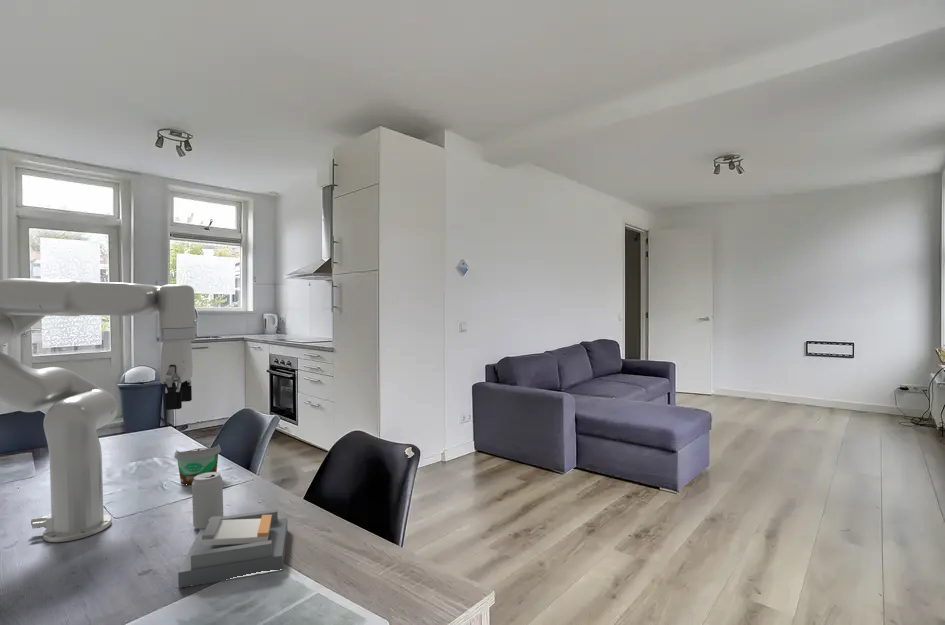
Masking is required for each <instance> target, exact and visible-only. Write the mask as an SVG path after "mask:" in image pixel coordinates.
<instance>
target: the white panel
mask: <svg viewBox="0 0 945 625" xmlns="http://www.w3.org/2000/svg"><path fill="white" fill-rule="evenodd" d="M271 519H272V515H262V517H261V519H235V520H222V516H215V517H211V519H210V521H209V523H208V525H207V527H206V529H205V531H204V533H203V535H202V544H201V546H207V545H227V544H247V543H256V542H263V541H268V536H269V531H270V526H271Z"/></svg>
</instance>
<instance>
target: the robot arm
mask: <svg viewBox="0 0 945 625" xmlns="http://www.w3.org/2000/svg"><path fill="white" fill-rule="evenodd" d="M195 307H196V306H195V290H194V288H193V287H192V286H191V285H188V284H165V285H163V284H162V285H161V286H160V285H153V284H143V283H134V282H133V283H132V282H106V281H105V282H103V281H100V282H99V281H81V280H79V279H53V278H52V279H50V278H25V277H23V278H19V277H18V278H17V277H14V278H11V277H10V278H5V279H1V280H0V346H3V345H6V344H8V343H10V342H13V341H14V340H16V339H18V337H19V336H21V335H22V334H24V333H25V332H26V331H28V330H29V329H30V328H33V326H35V325H36V324H37V323H38V322H39V321H41V320H42V319H44V318H45V317H46V316H47V317H48V316H51V317H52V316H55V317H79V316H109V317H110V316H115V317H116V316H119V317H135V316H151V315H158V328H159V329H158V331H159V333H158V336H159V340H158V341H159V343H162V344H161V349H160V350H161V352H160V378H159V380H160V383H161V384H162V385H164V386H165V388H164V389H165V390H164V394H165V396H164V397H165V398H164V399H165V410H167V411H170V410H180V409H182V407H183V404H182V403H184V402H185V403H187V402H191V401H192V400H193V394H192V392H193V391H192V389H193V388H192V376H193V350H192V349H193V347H192V342H196V318H195V317H196V314H195V313H196V312H195V311H196V310H195ZM0 401H1V402H2V403H4V404H6V405H8V406H10V407H11V408H12V409H13V408H14V409H15V410H18V411H20V412H24V413H35V412H38V411H42V410H45V409H48V410H47V411H46V413H45V415H44V418H43V430H44V434H45V438H46V441H47V448H48V455H49V456H48V457H49V458H48V460H49V476H50V477H49V481H50V482H49V483H50V484H49V485H50V510H51V511H50V513H49V514H48V515H45V516H43V515H42V516H33V517H32V518H31V520H30V525H31V529H32V530H34V529H40V528H44V531H43V532H42V539H43V540H44V541H45V542H49V543H64V542H70V541H71V542H72V541H76V540H79V539H80V540H81V539H83V538H87V537H91V536H93V535H95V534H98V533H100V532H102V531H104V530H106V529H107V528H108V527H109V526H111V525H112V522H113V519H112V518H113V517H112V516H111V515H110V514H107V513H104V490H103V489H104V487H103V484H104V483H103V457H102V456H103V455H102V454H103V453H102V452H103V451H102V445H101V441H100V438H99V435H98V433H97V430H98V429H100V428H102V427H104V426H106V425H107V424H109V423H111V422H112V421H113V420H114V419H115V418H116V416H117V414H118V411H119V404H118V401H117V399H116V397H115V396H114V395H113V394H112V393H111V392H109V391H107V390H106V389H104V388H102V387H100V386H98V385H97V384H95V383H94V382H92V381H90V380H89V379H87V378H85V377H84V376H82V375H79V373H76V372H75V371H72V370H70V369H66V368H63V367H59V366H50V367H48V366H47V367H44V368H43V367H42V368H33V367H30V366H29V365H26V364H24V363H23V362H20V361H18V360H17V359H15V358H14V357H12V356H10V355H8V354H6V353H4V352H0Z"/></svg>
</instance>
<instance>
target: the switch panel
mask: <svg viewBox="0 0 945 625" xmlns="http://www.w3.org/2000/svg"><path fill="white" fill-rule="evenodd" d="M278 513H279V511H278V509H268V510H261V511H253V512H247V513H240V514H232V515H223V517H222V520H235V519H261V517H262V515H272V519H271V526H270V531H269V536H268V541H263V542H256V543H247V544H227V545H207V546H201V544H202V535H203V533H204V531H205V529H203V530H199V531H198V533H197V536H196V537H195V539H194V540H193V541H194V542H193V543H192V545H191V547H190V549H189V551H188V553H187V555H185V556H186V557H185V558H184V560H183V563H182V564H181V566H180V569H179V571H178V572H177V574H178V575H177V576H178V577H177V579H178V589H183V588H182V587H185V588H188V587H187V586H191V585H196V586H200V585H199V584H202V585H205V584H204V583H208V584H212V583H211V582H214V583H219V582H218V581H220V582H223V581H222V580H226V579H230V578H233V577H237V576H243V575H246V574H251V573H256V572H261V571H270V570H280V569H283V570H284V562H285V553H286V544H287V539H288V538H287V536H288V517H283V518H278V517H279V514H278ZM210 519H211V518H209V520H208V523H209V521H210ZM226 581H227V580H226ZM191 587H192V586H191Z"/></svg>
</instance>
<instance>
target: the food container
mask: <svg viewBox="0 0 945 625" xmlns="http://www.w3.org/2000/svg"><path fill="white" fill-rule="evenodd" d="M175 450H176V451H175V452H174V457H173V458H174V459H175V460H177V465H178V472H179V473H178V474H179V479H180V484H181V483H182V484H187V485H186V486H189V485H192V482H193V481H194V477H195V476H197V475H199V474H203V473H208V472H218V471H217V470H218V463H219V462H218V459H219V454H220V453H221V452H222V449H221V446H220V443H218V445H216V446H214V447H209V448H208V447H206V448H205V447H203V448H202V447H201V448H195V449H191V450H187V451H185V450H184V451H178V450H177V449H175ZM182 484H181V485H182Z"/></svg>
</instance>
